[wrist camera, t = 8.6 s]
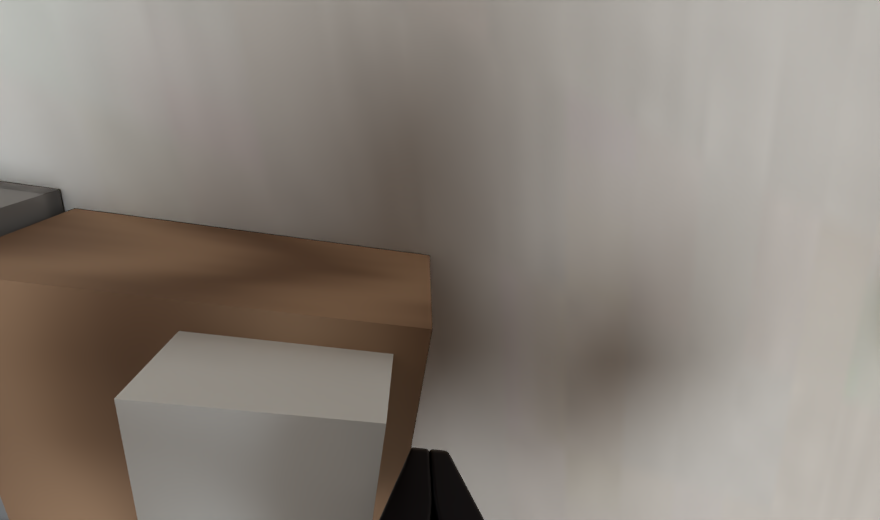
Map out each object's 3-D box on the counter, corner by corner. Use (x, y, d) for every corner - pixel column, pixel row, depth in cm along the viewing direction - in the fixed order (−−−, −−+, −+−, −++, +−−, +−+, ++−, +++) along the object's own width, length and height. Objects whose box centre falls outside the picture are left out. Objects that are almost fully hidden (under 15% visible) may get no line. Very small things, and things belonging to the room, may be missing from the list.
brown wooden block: (429, 255, 13) (432, 328, 9) (386, 517, 17) (377, 635, 14) (74, 208, 12) (-86, 269, 8) (132, 499, 16) (48, 622, 13)
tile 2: (393, 354, 9) (386, 423, 7) (373, 493, 11) (364, 577, 9) (179, 331, 9) (113, 398, 7) (194, 480, 10) (146, 566, 9)
